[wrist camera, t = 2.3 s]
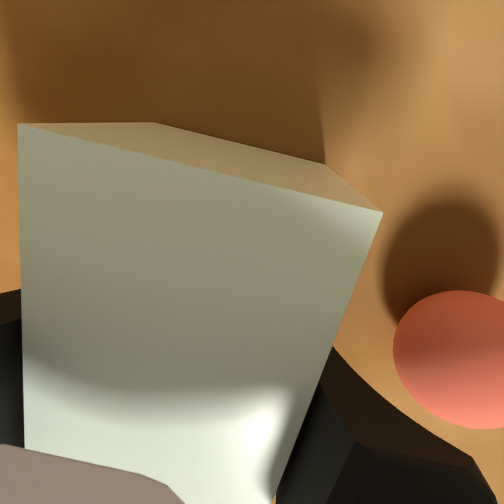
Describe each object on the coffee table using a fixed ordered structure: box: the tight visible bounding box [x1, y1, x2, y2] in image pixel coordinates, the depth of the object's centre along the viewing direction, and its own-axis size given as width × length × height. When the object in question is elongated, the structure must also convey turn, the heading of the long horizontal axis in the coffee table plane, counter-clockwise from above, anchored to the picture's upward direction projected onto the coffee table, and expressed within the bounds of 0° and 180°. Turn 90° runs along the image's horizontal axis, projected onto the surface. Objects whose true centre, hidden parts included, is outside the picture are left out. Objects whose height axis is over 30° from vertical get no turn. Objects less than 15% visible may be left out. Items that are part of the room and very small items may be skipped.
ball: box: [393, 290, 504, 429], centre depth 12 cm, size 4×4×4 cm
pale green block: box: [17, 122, 383, 504], centre depth 11 cm, size 6×12×7 cm, turn 167°
